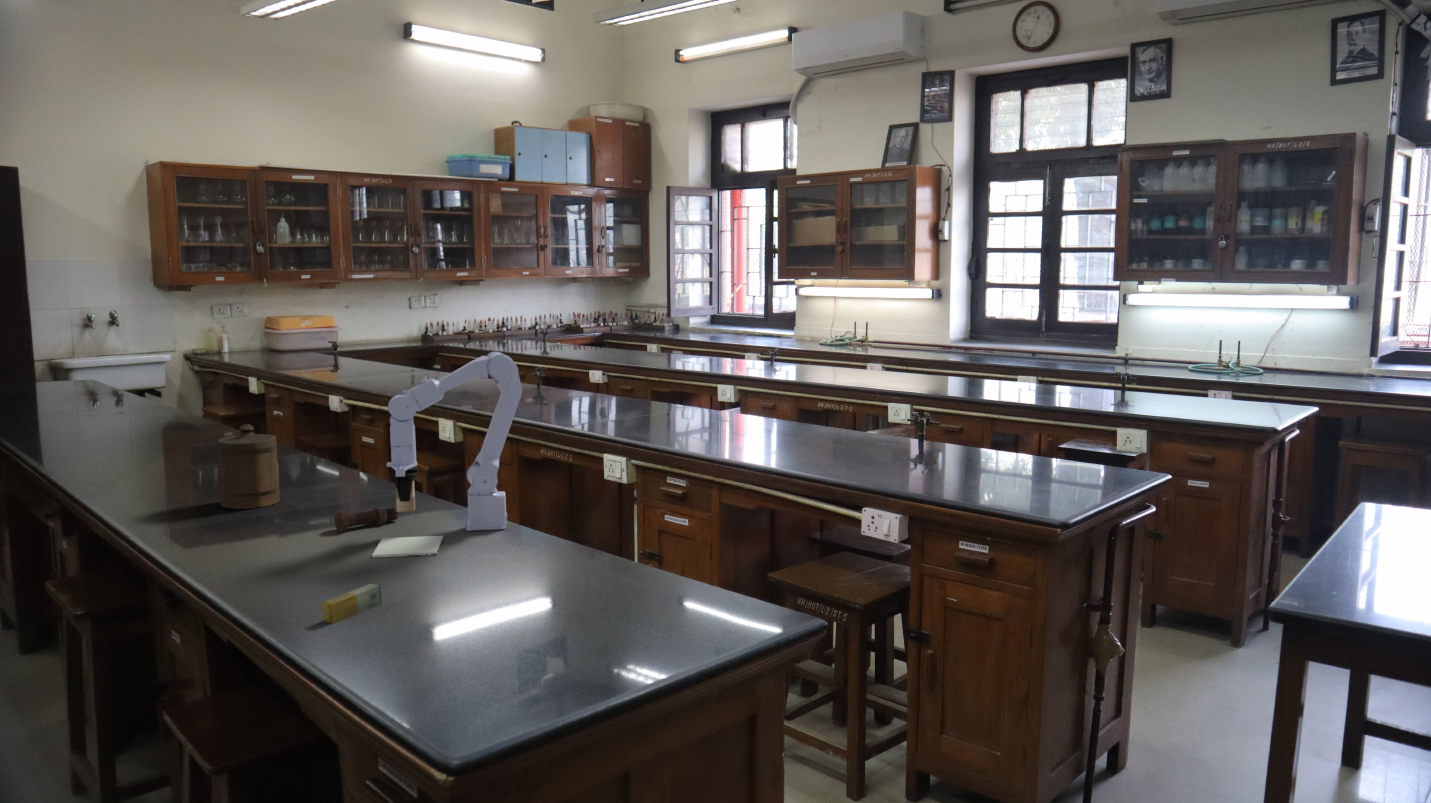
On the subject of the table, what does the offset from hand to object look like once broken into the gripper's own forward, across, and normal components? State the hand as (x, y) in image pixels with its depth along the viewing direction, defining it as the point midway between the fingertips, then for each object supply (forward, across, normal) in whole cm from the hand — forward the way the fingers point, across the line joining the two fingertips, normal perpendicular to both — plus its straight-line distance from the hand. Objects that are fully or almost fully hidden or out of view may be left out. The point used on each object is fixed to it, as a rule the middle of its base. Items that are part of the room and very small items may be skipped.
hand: (405, 499), depth 235 cm
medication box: (+9, +54, -2) cm, 55 cm away
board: (+9, +12, +2) cm, 15 cm away
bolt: (+9, -10, -11) cm, 17 cm away
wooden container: (+9, -40, -47) cm, 62 cm away
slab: (+3, 0, 0) cm, 3 cm away
